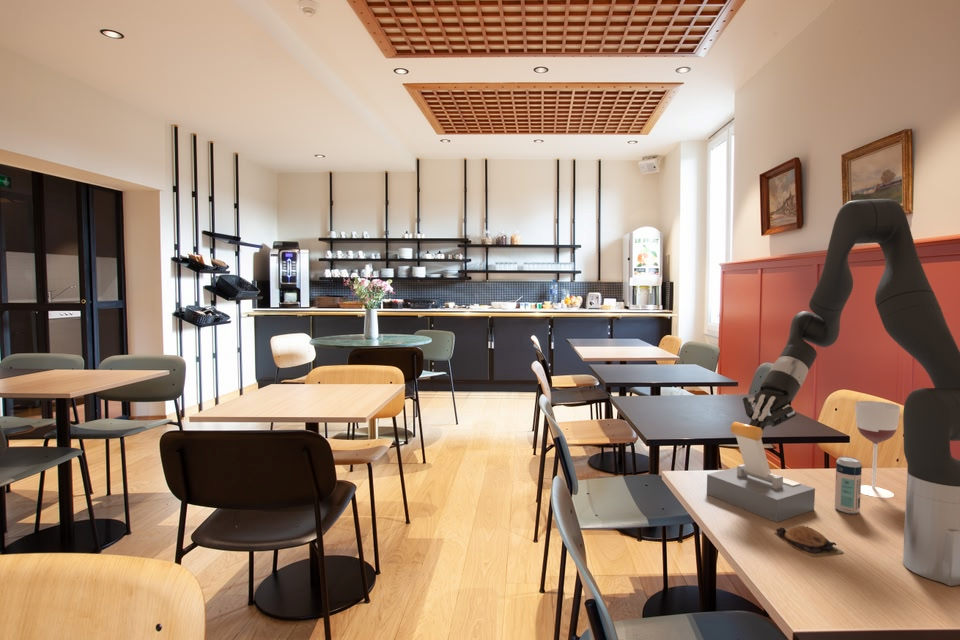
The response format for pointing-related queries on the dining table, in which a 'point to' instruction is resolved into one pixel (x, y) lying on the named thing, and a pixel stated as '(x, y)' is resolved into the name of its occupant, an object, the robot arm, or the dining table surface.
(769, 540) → the dining table surface
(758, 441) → the breaker lever
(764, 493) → the block
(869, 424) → the wineglass
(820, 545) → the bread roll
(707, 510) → the dining table surface
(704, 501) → the dining table surface
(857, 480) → the beer can
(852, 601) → the dining table surface
